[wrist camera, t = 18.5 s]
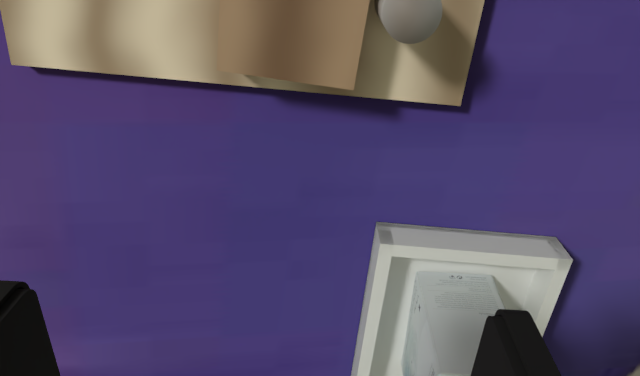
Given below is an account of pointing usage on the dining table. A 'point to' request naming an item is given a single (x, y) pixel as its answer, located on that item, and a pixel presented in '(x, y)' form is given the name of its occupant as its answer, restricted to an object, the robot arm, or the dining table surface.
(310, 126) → the dining table surface
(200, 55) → the board
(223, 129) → the dining table surface
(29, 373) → the robot arm
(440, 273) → the skincare box
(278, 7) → the tan square slab
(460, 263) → the tray
